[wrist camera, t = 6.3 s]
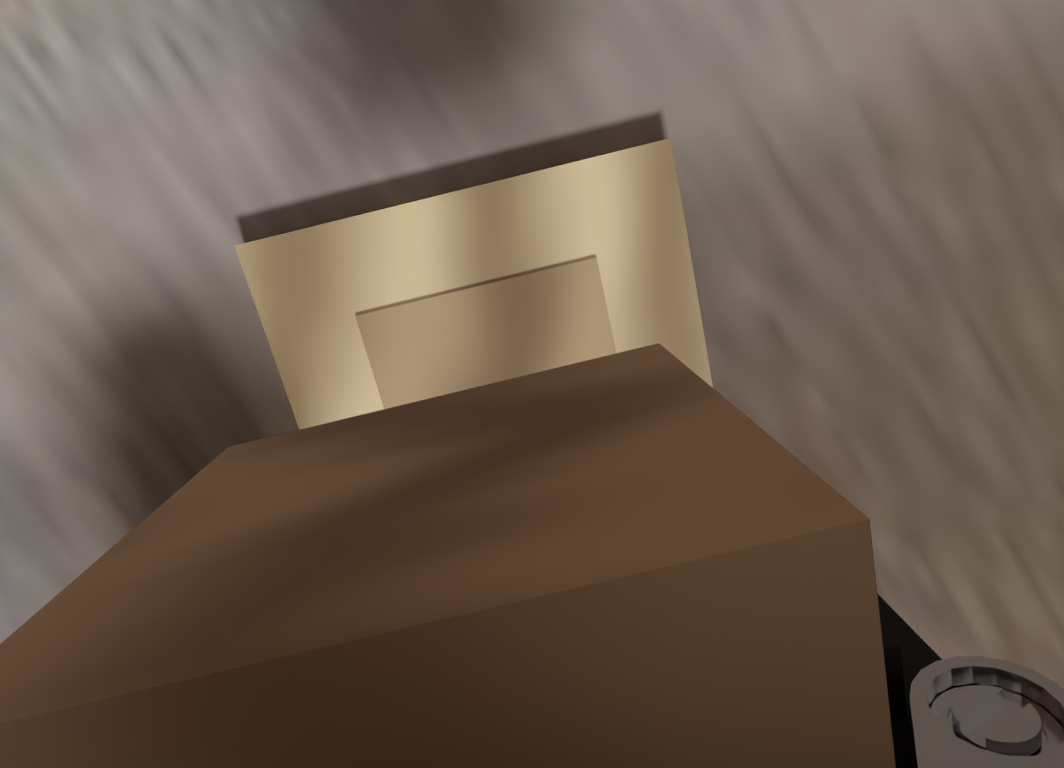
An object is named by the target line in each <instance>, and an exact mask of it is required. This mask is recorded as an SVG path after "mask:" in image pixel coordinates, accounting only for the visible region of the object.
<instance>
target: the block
mask: <svg viewBox="0 0 1064 768" xmlns="http://www.w3.org/2000/svg"><path fill="white" fill-rule="evenodd" d="M0 768H896V766H895V757H894V747H893V738H892V728H891V719H890V709H889V700H888V690H887V681H886V671H885V662H884V652H883V643H882V633H881V624H880V614H879V605H878V595H877V586H876V577H875V567H874V558H873V548H872V539H871V529H870V520H869V518H868V517H867V516H865V515H864V514H863V513H862V512H861V511H859V510H858V509H857V508H856V507H855V506H853V505H852V504H851V503H850V502H849V501H847V500H846V499H845V498H844V497H843V496H841V495H840V494H839V493H838V492H837V491H835V490H834V489H833V488H832V487H831V486H830V485H828V484H827V483H826V482H825V481H824V480H822V479H821V478H820V477H819V476H818V475H816V474H815V473H814V472H813V471H812V470H810V469H809V468H808V467H807V466H806V465H804V464H803V463H802V462H801V461H800V460H798V459H797V458H796V457H795V456H794V455H792V454H791V453H790V452H789V451H788V450H786V449H785V448H784V447H783V446H782V445H780V444H779V443H778V442H777V441H776V440H774V439H773V438H772V437H771V436H770V435H768V434H767V433H766V432H765V431H764V430H762V429H761V428H760V427H759V426H758V425H756V424H755V423H754V422H753V421H752V420H750V419H749V418H748V417H747V416H746V415H744V414H743V413H742V412H741V411H740V410H738V409H737V408H736V407H735V406H734V405H733V404H731V403H730V402H729V401H728V400H727V399H725V398H724V397H723V396H722V395H721V394H719V393H718V392H717V391H716V390H715V389H713V388H712V387H711V386H710V385H709V384H707V383H706V382H705V381H704V380H703V379H701V378H700V377H699V376H698V375H697V374H695V373H694V372H693V371H692V370H691V369H689V368H688V367H687V366H686V365H685V364H683V363H682V362H681V361H680V360H679V359H677V358H676V357H675V356H674V355H673V354H671V353H670V352H669V351H668V350H667V349H665V348H664V347H663V346H662V345H661V344H659V343H657V344H653V345H649V346H645V347H641V348H636V349H632V350H628V351H624V352H620V353H616V354H612V355H607V356H603V357H599V358H595V359H591V360H587V361H582V362H578V363H574V364H570V365H566V366H562V367H558V368H553V369H549V370H545V371H541V372H537V373H533V374H529V375H524V376H520V377H516V378H512V379H508V380H504V381H499V382H495V383H491V384H487V385H483V386H479V387H475V388H470V389H466V390H462V391H458V392H454V393H450V394H445V395H441V396H437V397H433V398H429V399H425V400H421V401H416V402H412V403H408V404H404V405H400V406H396V407H392V408H387V409H383V410H379V411H375V412H371V413H367V414H362V415H358V416H354V417H350V418H346V419H342V420H338V421H333V422H329V423H325V424H321V425H317V426H313V427H309V428H304V429H300V430H296V431H292V432H288V433H284V434H279V435H275V436H271V437H267V438H263V439H259V440H255V441H250V442H246V443H242V444H238V445H234V446H230V447H228V448H226V449H225V450H224V451H223V452H222V453H221V454H219V455H218V456H217V457H216V458H215V459H214V460H213V461H211V462H210V463H209V464H208V465H207V466H206V467H204V468H203V469H202V470H201V471H200V472H199V473H197V474H196V475H195V476H194V477H193V478H192V479H191V480H189V481H188V482H187V483H186V484H185V485H184V486H182V487H181V488H180V489H179V490H178V491H177V492H176V493H174V494H173V495H172V496H171V497H170V498H169V499H167V500H166V501H165V502H164V503H163V504H162V505H161V506H159V507H158V508H157V509H156V510H155V511H154V512H152V513H151V514H150V515H149V516H148V517H147V518H146V519H144V520H143V521H142V522H141V523H140V524H139V525H137V526H136V527H135V528H134V529H133V530H132V531H131V532H129V533H128V534H127V535H126V536H125V537H124V538H122V539H121V540H120V541H119V542H118V543H117V544H115V545H114V546H113V547H112V548H111V549H110V550H109V551H107V552H106V553H105V554H104V555H103V556H102V557H100V558H99V559H98V560H97V561H96V562H95V563H94V564H92V565H91V566H90V567H89V568H88V569H87V570H85V571H84V572H83V573H82V574H81V575H80V576H79V577H77V578H76V579H75V580H74V581H73V582H72V583H70V584H69V585H68V586H67V587H66V588H65V589H64V590H62V591H61V592H60V593H59V594H58V595H57V596H55V597H54V598H53V599H52V600H51V601H50V602H49V603H47V604H46V605H45V606H44V607H43V608H42V609H40V610H39V611H38V612H37V613H36V614H35V615H33V616H32V617H31V618H30V619H29V620H28V621H27V622H25V623H24V624H23V625H22V626H21V627H20V628H18V629H17V630H16V631H15V632H14V633H13V634H12V635H10V636H9V637H8V638H7V639H6V640H5V641H3V642H2V643H1V644H0Z"/></svg>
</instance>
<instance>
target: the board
mask: <svg viewBox="0 0 1064 768" xmlns="http://www.w3.org/2000/svg"><path fill="white" fill-rule="evenodd" d="M235 249H236V252H237V254H238V257H239V260H240V263H241V266H242V269H243V271H244V274H245V277H246V280H247V283H248V286H249V289H250V291H251V294H252V297H253V300H254V303H255V306H256V308H257V311H258V314H259V317H260V320H261V323H262V325H263V328H264V331H265V334H266V337H267V340H268V342H269V345H270V348H271V351H272V354H273V357H274V359H275V362H276V365H277V368H278V371H279V374H280V376H281V379H282V382H283V385H284V388H285V391H286V393H287V396H288V399H289V402H290V405H291V408H292V410H293V413H294V416H295V419H296V422H297V425H298V427H299V430H300V429H304V428H309V427H313V426H317V425H321V424H325V423H329V422H333V421H338V420H342V419H346V418H350V417H354V416H358V415H362V414H367V413H371V412H375V411H379V410H383V409H387V408H392V407H396V406H400V405H404V404H408V403H412V402H416V401H421V400H425V399H429V398H433V397H437V396H441V395H445V394H450V393H454V392H458V391H462V390H466V389H470V388H475V387H479V386H483V385H487V384H491V383H495V382H499V381H504V380H508V379H512V378H516V377H520V376H524V375H529V374H533V373H537V372H541V371H545V370H549V369H553V368H558V367H562V366H566V365H570V364H574V363H578V362H582V361H587V360H591V359H595V358H599V357H603V356H607V355H612V354H616V353H620V352H624V351H628V350H632V349H636V348H641V347H645V346H649V345H653V344H657V343H659V344H661V345H662V346H663V347H664V348H665V349H667V350H668V351H669V352H670V353H671V354H673V355H674V356H675V357H676V358H677V359H679V360H680V361H681V362H682V363H683V364H685V365H686V366H687V367H688V368H689V369H691V370H692V371H693V372H694V373H695V374H697V375H698V376H699V377H700V378H701V379H703V380H704V381H705V382H706V383H707V384H709V385H710V386H711V387H712V388H713V385H712V379H711V373H710V367H709V361H708V355H707V350H706V344H705V338H704V332H703V326H702V320H701V314H700V308H699V302H698V296H697V290H696V284H695V278H694V272H693V266H692V260H691V254H690V248H689V242H688V236H687V230H686V224H685V218H684V213H683V207H682V201H681V195H680V189H679V183H678V177H677V171H676V165H675V159H674V153H673V147H672V141H671V138H669V139H665V140H661V141H657V142H653V143H649V144H645V145H641V146H637V147H632V148H628V149H624V150H620V151H616V152H612V153H608V154H604V155H600V156H596V157H592V158H588V159H584V160H580V161H576V162H572V163H568V164H564V165H560V166H555V167H551V168H547V169H543V170H539V171H535V172H531V173H527V174H523V175H519V176H515V177H511V178H507V179H503V180H499V181H495V182H491V183H487V184H482V185H478V186H474V187H470V188H466V189H462V190H458V191H454V192H450V193H446V194H442V195H438V196H434V197H430V198H426V199H422V200H418V201H414V202H410V203H405V204H401V205H397V206H393V207H389V208H385V209H381V210H377V211H373V212H369V213H365V214H361V215H357V216H353V217H349V218H345V219H341V220H337V221H332V222H328V223H324V224H320V225H316V226H312V227H308V228H304V229H300V230H296V231H292V232H288V233H284V234H280V235H276V236H272V237H268V238H264V239H259V240H255V241H251V242H247V243H243V244H239V245H235Z"/></svg>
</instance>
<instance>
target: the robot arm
mask: <svg viewBox="0 0 1064 768" xmlns="http://www.w3.org/2000/svg"><path fill="white" fill-rule="evenodd" d="M877 595H878V594H877ZM878 605H879V614H880V624H881V633H882V643H883V652H884V662H885V671H886V681H887V690H888V700H889V709H890V719H891V728H892V738H893V747H894V757H895V766H896V768H1064V689H1063V688H1062V687H1061V686H1060V685H1059V684H1057V683H1056V682H1054V681H1052V680H1050V679H1049V678H1047V677H1045V676H1043V675H1041V674H1040V673H1038V672H1036V671H1034V670H1032V669H1029V668H1026V667H1023V666H1021V665H1018V664H1015V663H1012V662H1009V661H1005V660H1000V659H994V658H988V657H982V656H956V657H952V658H947V659H943V660H942V659H941V658H940V657H939V656H938V655H937V654H936V653H935V652H934V651H933V650H932V649H931V648H930V647H929V646H928V645H927V644H926V643H925V642H924V641H923V640H922V639H921V638H920V637H919V636H918V635H917V634H916V633H915V632H914V631H913V630H912V629H911V628H910V626H909V625H908V624H907V623H906V622H905V621H904V620H903V619H902V618H901V617H900V616H899V615H898V614H897V613H896V612H895V611H894V610H893V609H892V608H891V607H890V606H889V605H888V604H887V603H886V602H885V601H884V600H883V599H882V598H881V597H880V596H879V595H878Z"/></svg>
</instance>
